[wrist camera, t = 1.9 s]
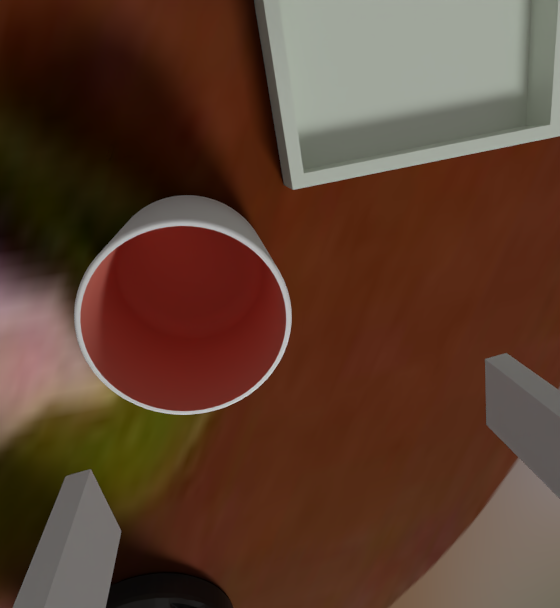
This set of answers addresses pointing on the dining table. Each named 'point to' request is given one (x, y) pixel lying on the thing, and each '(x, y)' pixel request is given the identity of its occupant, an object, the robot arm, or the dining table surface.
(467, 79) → the tray
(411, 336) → the dining table surface
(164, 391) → the cup
